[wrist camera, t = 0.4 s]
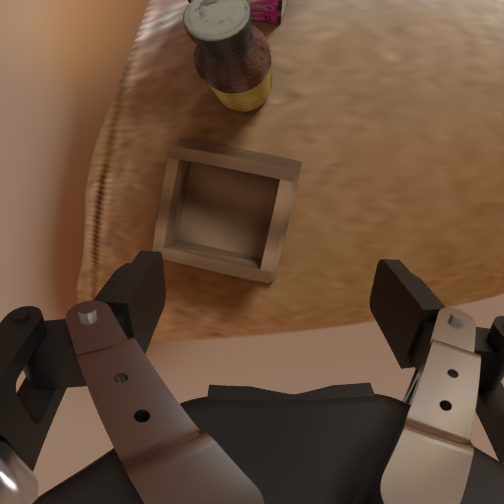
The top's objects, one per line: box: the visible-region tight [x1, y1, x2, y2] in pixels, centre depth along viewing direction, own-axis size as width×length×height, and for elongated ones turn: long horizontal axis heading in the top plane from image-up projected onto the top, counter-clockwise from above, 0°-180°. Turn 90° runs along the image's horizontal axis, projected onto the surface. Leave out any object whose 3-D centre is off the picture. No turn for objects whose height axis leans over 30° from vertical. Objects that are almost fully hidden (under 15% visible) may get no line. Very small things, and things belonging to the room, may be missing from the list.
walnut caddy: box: [152, 138, 302, 284], centre depth 34 cm, size 14×14×6 cm
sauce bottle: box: [183, 0, 272, 112], centre depth 24 cm, size 7×6×20 cm
